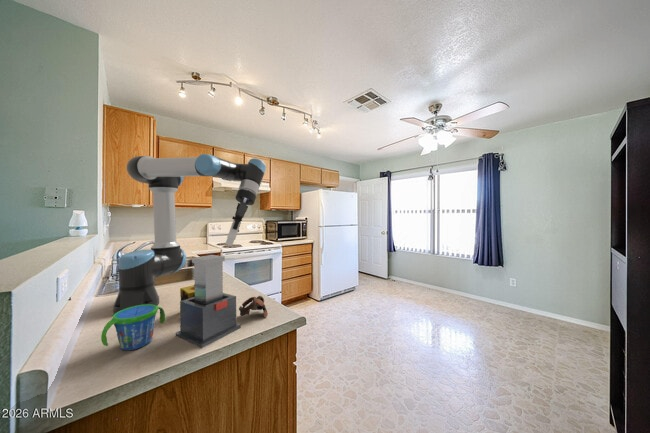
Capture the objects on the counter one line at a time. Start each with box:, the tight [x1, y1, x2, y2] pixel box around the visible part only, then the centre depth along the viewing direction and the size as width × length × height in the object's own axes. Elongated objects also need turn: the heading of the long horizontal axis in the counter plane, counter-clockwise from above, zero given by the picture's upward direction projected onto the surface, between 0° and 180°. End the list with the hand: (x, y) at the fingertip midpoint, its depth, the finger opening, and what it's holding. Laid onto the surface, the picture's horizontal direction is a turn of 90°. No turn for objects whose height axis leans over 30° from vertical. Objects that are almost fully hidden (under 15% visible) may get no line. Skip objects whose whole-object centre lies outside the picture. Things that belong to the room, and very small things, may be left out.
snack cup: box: [100, 304, 166, 351], centre depth 70 cm, size 16×10×10 cm
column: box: [191, 254, 226, 306], centre depth 77 cm, size 7×7×24 cm
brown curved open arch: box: [238, 295, 268, 319], centre depth 90 cm, size 12×10×8 cm
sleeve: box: [175, 292, 242, 349], centre depth 77 cm, size 14×14×11 cm
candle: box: [179, 284, 195, 301], centre depth 93 cm, size 10×10×10 cm
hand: (229, 242), depth 88 cm, fingers open, 13 cm apart
